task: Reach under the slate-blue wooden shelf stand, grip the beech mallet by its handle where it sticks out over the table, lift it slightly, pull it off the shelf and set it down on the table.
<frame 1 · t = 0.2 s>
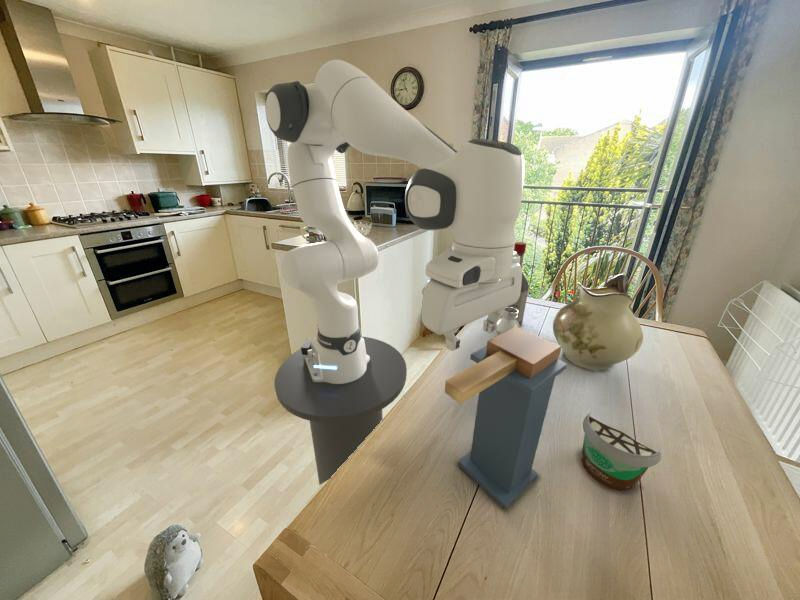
hand: (471, 338, 52), 27 cm above the table, tool pointing down, fingers open, 8 cm apart
pitcher: (585, 357, 95), on the table
liquor: (507, 323, 115), on the table
mallet: (490, 375, 45), point 26 cm above the table, touching shelf stand
shelf stand: (496, 470, 60), on the table
food container: (601, 477, 59), on the table
plastic bottle: (500, 374, 88), on the table
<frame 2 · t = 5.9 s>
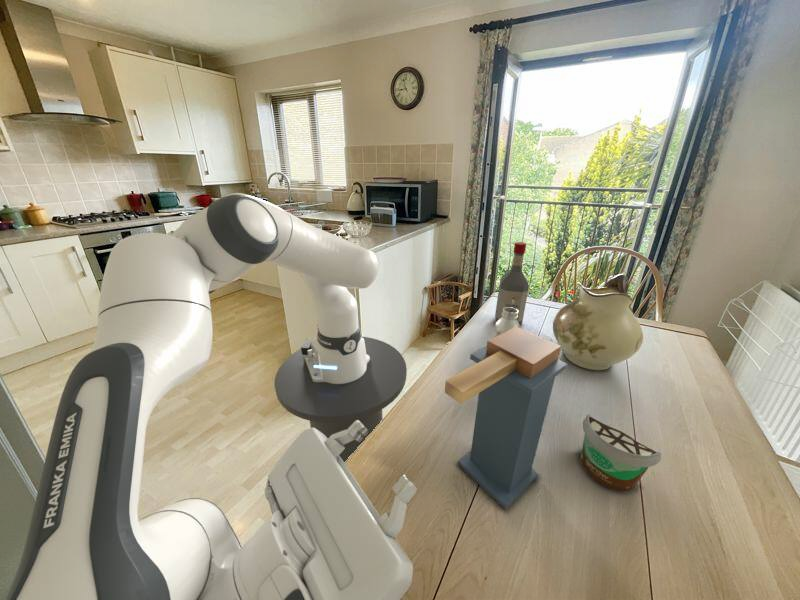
hand: (384, 450, 36), 24 cm above the table, tool pointing upward, fingers open, 8 cm apart
nothing on the table moved.
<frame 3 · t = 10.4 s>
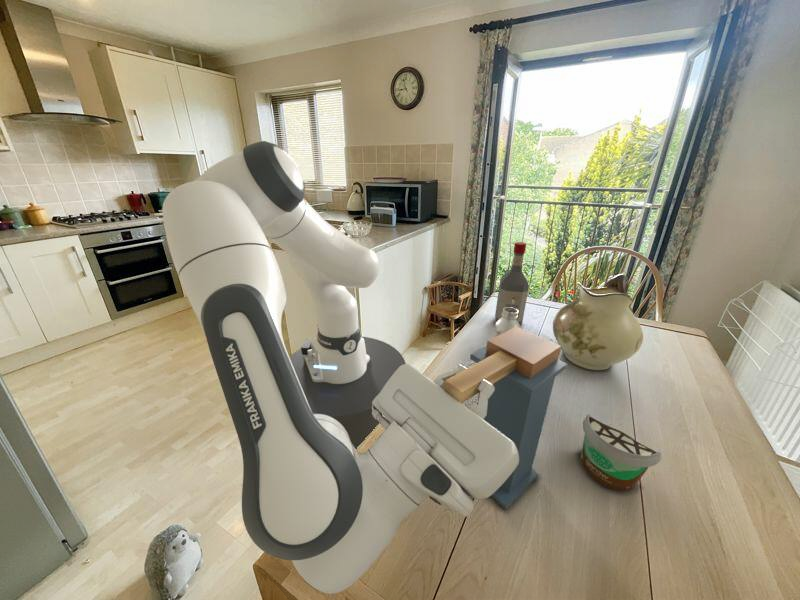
hand: (476, 375, 43), 27 cm above the table, tool pointing upward, fingers closed on mallet, 3 cm apart
mallet: (490, 375, 45), point 26 cm above the table, touching gripper, shelf stand
everything else where it was.
when the fingers open (16 cm above the table, at t = 17.6 s): mallet drops 15 cm, on the table.
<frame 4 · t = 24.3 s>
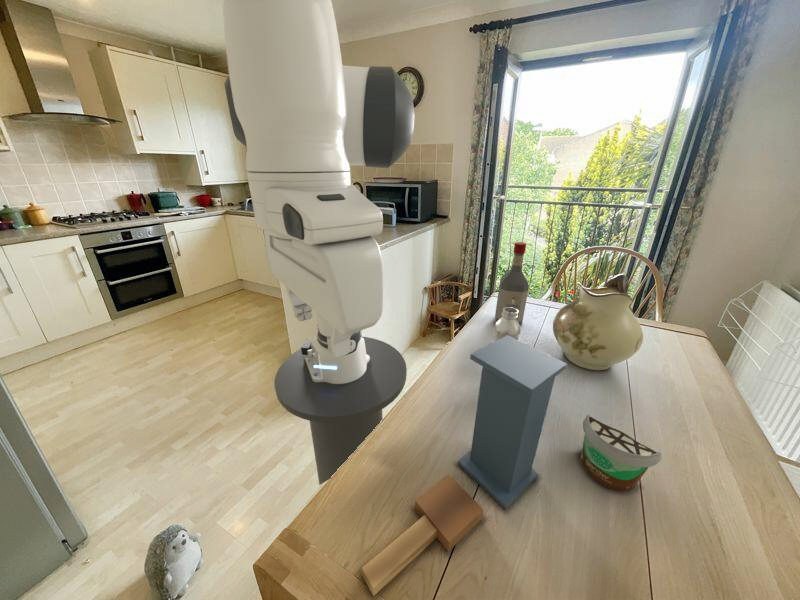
hand: (319, 333, 34), 37 cm above the table, tool pointing down, fingers open, 8 cm apart
mallet: (411, 546, 48), on the table
everything else where it was.
at the end: mallet on the table; mallet inside the target area (0.4 cm from its centre), on the table; mallet touching table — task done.
